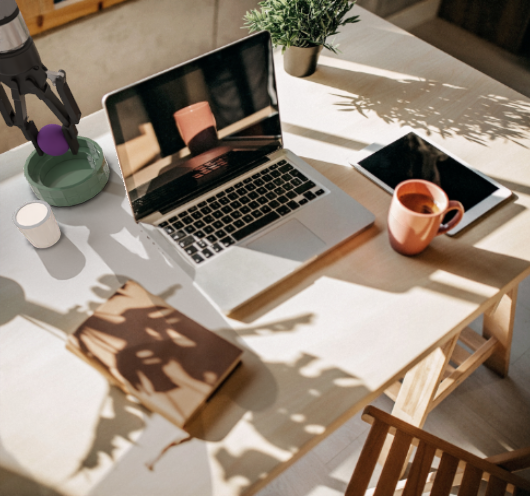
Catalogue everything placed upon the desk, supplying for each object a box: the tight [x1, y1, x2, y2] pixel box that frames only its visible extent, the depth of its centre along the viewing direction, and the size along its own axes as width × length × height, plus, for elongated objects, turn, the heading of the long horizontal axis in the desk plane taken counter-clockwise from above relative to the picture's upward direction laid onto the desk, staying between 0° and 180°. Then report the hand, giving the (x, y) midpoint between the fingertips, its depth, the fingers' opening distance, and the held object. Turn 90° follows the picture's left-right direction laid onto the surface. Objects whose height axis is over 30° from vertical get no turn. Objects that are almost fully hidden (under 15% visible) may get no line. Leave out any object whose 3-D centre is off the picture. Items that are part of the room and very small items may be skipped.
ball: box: [37, 123, 70, 156], centre depth 94 cm, size 6×6×6 cm
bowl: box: [23, 135, 111, 207], centre depth 101 cm, size 16×16×5 cm
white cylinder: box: [11, 199, 62, 249], centre depth 92 cm, size 7×7×7 cm
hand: (59, 150), depth 97 cm, fingers closed on ball, 6 cm apart
